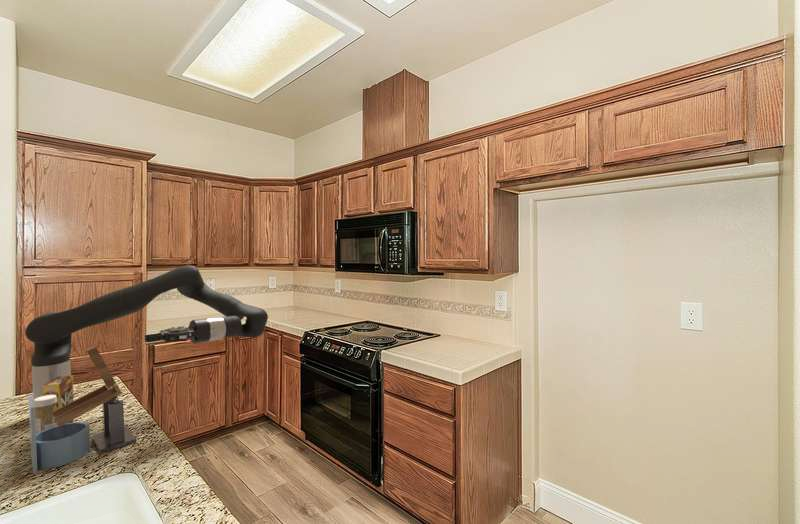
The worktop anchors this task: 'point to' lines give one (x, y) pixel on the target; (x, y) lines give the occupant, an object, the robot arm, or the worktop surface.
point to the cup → (57, 442)
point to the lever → (92, 398)
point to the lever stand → (113, 428)
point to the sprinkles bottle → (45, 412)
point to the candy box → (60, 390)
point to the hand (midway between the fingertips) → (145, 338)
